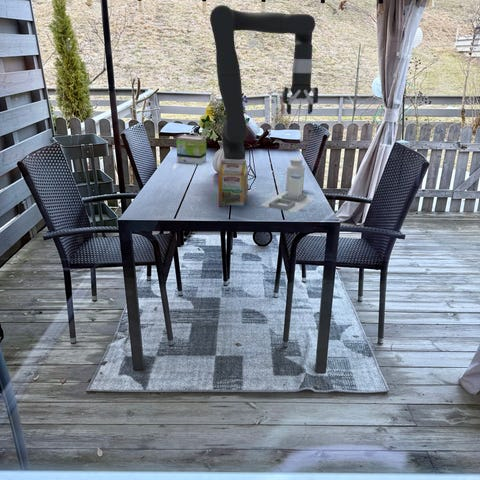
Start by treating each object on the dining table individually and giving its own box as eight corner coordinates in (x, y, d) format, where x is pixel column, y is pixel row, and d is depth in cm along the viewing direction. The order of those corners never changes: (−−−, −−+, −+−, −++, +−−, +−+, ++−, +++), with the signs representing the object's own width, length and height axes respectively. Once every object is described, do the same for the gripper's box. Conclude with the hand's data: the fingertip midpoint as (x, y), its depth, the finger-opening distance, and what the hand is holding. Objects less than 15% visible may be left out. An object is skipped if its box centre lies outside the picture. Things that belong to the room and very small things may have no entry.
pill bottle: (289, 193, 192) (291, 161, 186) (283, 189, 199) (285, 157, 193) (305, 192, 194) (308, 160, 188) (298, 187, 201) (301, 156, 195)
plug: (297, 200, 179) (298, 177, 175) (286, 198, 181) (288, 175, 177) (301, 197, 183) (303, 174, 179) (291, 195, 185) (292, 173, 181)
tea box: (176, 162, 246) (175, 137, 240) (183, 159, 254) (182, 134, 248) (200, 164, 242) (199, 139, 236) (206, 161, 250) (206, 136, 244)
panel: (295, 215, 166) (295, 208, 165) (259, 207, 174) (259, 201, 173) (315, 201, 182) (315, 195, 181) (282, 195, 190) (282, 189, 189)
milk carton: (218, 207, 174) (218, 162, 167) (223, 199, 184) (223, 156, 176) (243, 208, 173) (244, 163, 165) (247, 200, 182) (248, 157, 175)
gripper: (286, 71, 161) (284, 115, 168) (322, 72, 163) (318, 115, 170) (282, 71, 168) (280, 113, 175) (316, 71, 170) (313, 112, 177)
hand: (299, 114), depth 172 cm, fingers open, 8 cm apart
